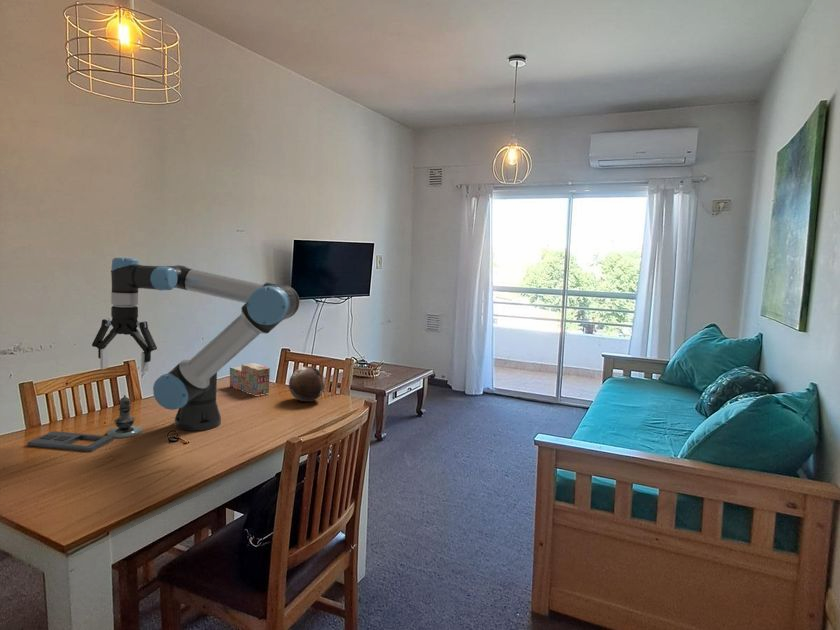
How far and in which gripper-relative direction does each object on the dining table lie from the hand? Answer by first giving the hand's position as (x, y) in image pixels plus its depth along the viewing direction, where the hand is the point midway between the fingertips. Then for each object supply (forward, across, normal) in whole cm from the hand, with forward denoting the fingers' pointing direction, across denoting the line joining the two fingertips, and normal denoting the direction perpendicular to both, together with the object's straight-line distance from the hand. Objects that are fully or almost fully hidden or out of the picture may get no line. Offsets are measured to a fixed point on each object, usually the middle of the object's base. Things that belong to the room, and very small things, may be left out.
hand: (124, 370), depth 168 cm
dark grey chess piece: (+20, 0, 0) cm, 20 cm away
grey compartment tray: (+21, +9, +12) cm, 26 cm away
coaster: (+21, 0, 0) cm, 21 cm away
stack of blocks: (+21, -19, -61) cm, 67 cm away
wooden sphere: (+21, -47, -52) cm, 73 cm away
